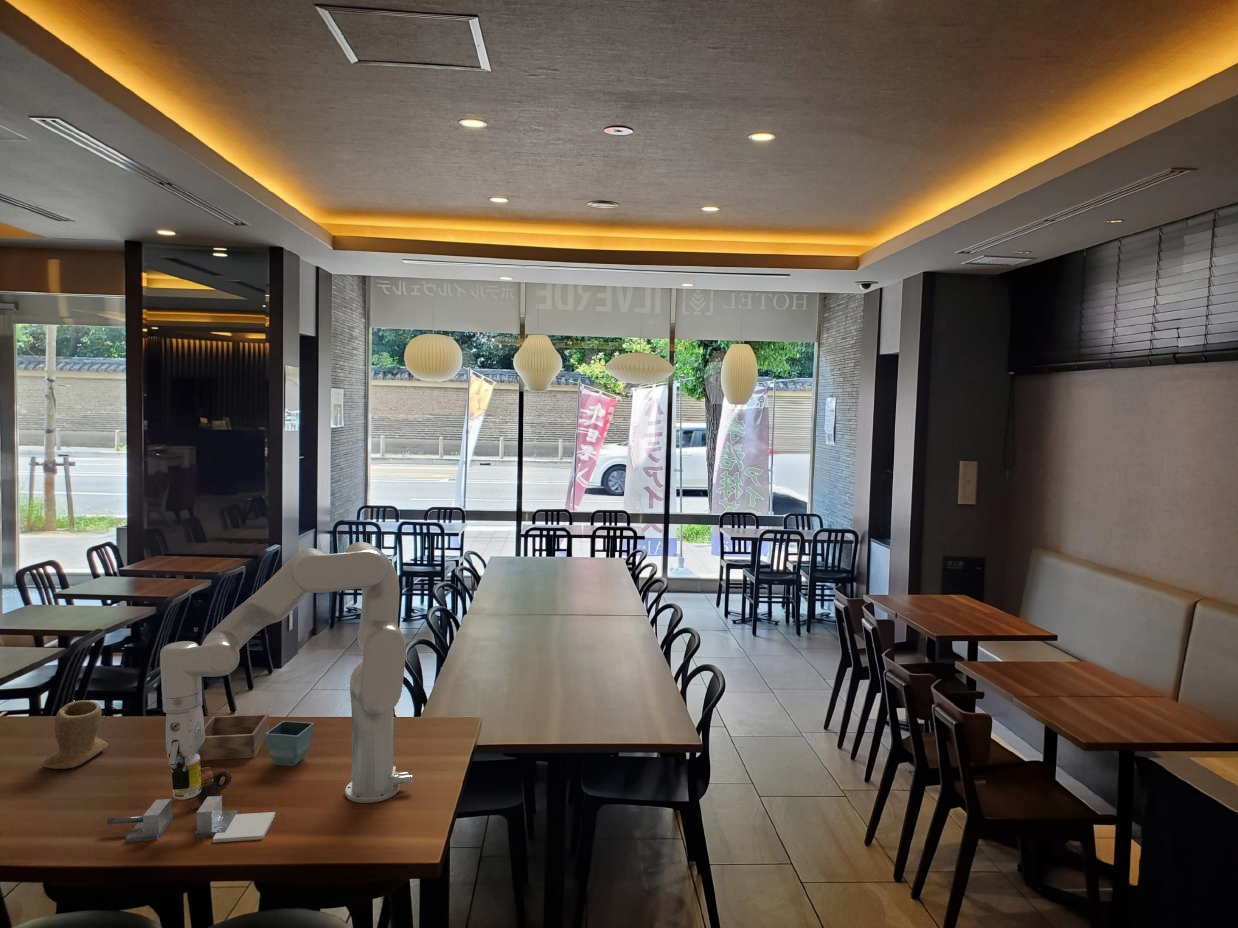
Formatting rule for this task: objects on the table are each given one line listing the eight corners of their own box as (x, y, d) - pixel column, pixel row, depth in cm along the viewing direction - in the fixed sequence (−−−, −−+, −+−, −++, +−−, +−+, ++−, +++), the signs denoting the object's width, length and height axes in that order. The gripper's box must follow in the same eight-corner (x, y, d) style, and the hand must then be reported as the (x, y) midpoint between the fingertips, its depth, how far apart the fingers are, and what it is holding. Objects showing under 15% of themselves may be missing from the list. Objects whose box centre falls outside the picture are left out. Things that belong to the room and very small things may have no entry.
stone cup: (79, 774, 198) (78, 714, 197) (34, 771, 199) (32, 712, 198) (122, 748, 213) (121, 693, 212) (80, 745, 214) (79, 691, 213)
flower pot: (314, 755, 211) (314, 722, 211) (298, 770, 203) (297, 735, 202) (282, 753, 212) (282, 720, 212) (265, 768, 203) (264, 733, 203)
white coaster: (275, 815, 180) (275, 811, 180) (263, 838, 171) (263, 835, 170) (227, 818, 179) (227, 814, 179) (212, 842, 169) (212, 838, 169)
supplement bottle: (205, 793, 174) (203, 748, 174) (178, 803, 170) (175, 756, 169) (196, 785, 178) (194, 740, 177) (168, 794, 174) (166, 748, 173)
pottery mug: (176, 816, 180) (167, 779, 182) (185, 815, 189) (177, 780, 191) (233, 793, 185) (224, 758, 187) (240, 793, 193) (231, 760, 195)
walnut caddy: (269, 734, 224) (268, 713, 223) (254, 757, 209) (254, 734, 209) (213, 737, 221) (212, 716, 221) (194, 760, 207) (193, 737, 207)
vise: (238, 814, 180) (237, 792, 180) (225, 835, 172) (225, 812, 171) (117, 821, 176) (117, 799, 176) (98, 843, 167) (98, 820, 167)
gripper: (186, 714, 165) (191, 799, 166) (214, 685, 182) (218, 762, 183) (147, 717, 163) (151, 802, 165) (178, 687, 180) (182, 765, 182)
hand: (186, 780), depth 174 cm, fingers closed on supplement bottle, 5 cm apart
